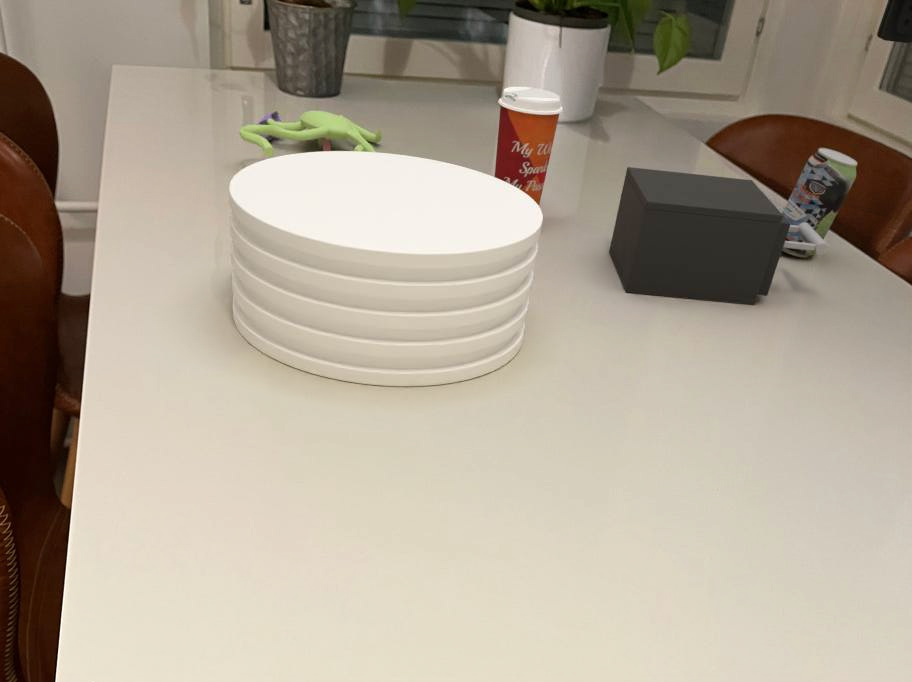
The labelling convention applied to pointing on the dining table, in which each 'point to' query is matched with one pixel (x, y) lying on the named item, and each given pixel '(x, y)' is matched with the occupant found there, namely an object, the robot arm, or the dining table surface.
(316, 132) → the figurine
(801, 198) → the beverage can
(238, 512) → the dining table surface
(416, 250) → the plate stack
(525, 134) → the paper cup
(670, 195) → the dark grey box
